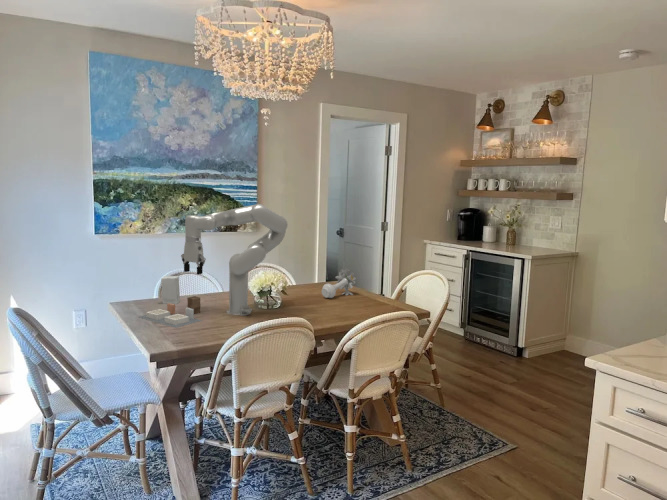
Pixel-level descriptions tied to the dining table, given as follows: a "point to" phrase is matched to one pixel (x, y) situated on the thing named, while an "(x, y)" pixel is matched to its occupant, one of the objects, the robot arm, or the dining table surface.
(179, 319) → the tag board
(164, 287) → the skincare box
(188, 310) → the pale grey tag
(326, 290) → the flower vase
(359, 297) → the dining table surface
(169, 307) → the terracotta tag
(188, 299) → the walnut plug
